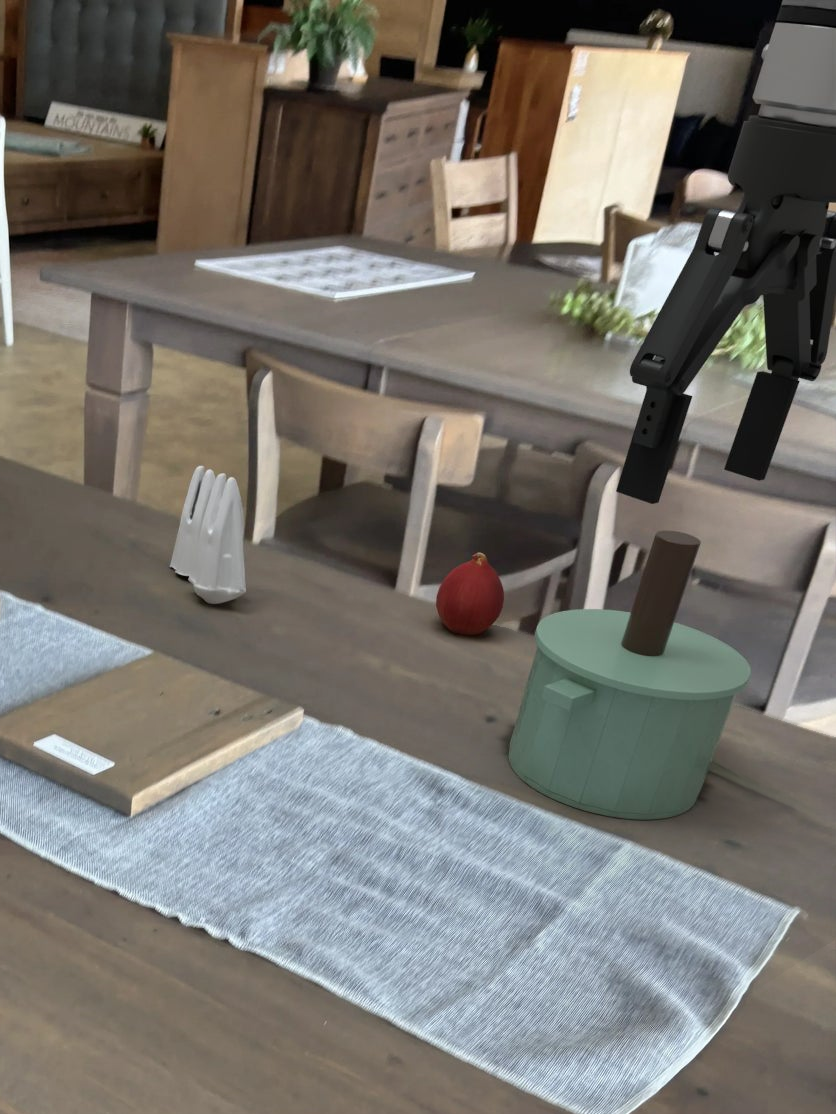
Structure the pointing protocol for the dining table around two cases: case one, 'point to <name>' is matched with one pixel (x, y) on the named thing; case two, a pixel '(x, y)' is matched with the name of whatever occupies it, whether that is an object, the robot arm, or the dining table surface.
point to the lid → (647, 636)
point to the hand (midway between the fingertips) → (692, 486)
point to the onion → (470, 597)
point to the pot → (613, 744)
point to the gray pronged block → (212, 538)
